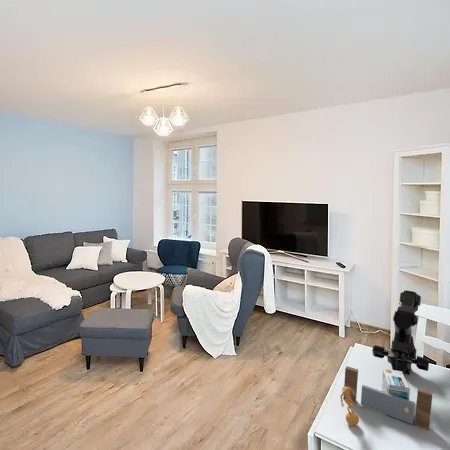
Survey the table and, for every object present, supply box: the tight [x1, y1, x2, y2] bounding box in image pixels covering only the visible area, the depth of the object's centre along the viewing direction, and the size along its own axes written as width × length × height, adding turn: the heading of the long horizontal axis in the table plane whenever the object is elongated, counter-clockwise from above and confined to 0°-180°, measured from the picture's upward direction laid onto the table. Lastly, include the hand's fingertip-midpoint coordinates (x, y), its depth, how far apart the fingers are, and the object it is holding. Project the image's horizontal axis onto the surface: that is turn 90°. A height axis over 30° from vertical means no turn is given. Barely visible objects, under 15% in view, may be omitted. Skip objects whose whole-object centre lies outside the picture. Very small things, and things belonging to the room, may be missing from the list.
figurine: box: [339, 386, 360, 427], centre depth 106 cm, size 8×6×12 cm
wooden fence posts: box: [342, 365, 434, 431], centre depth 111 cm, size 2×26×12 cm, turn 56°
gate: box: [360, 384, 416, 425], centre depth 110 cm, size 2×16×7 cm, turn 55°
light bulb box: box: [381, 368, 411, 401], centre depth 114 cm, size 11×7×11 cm, turn 164°
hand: (396, 380), depth 119 cm, fingers closed
